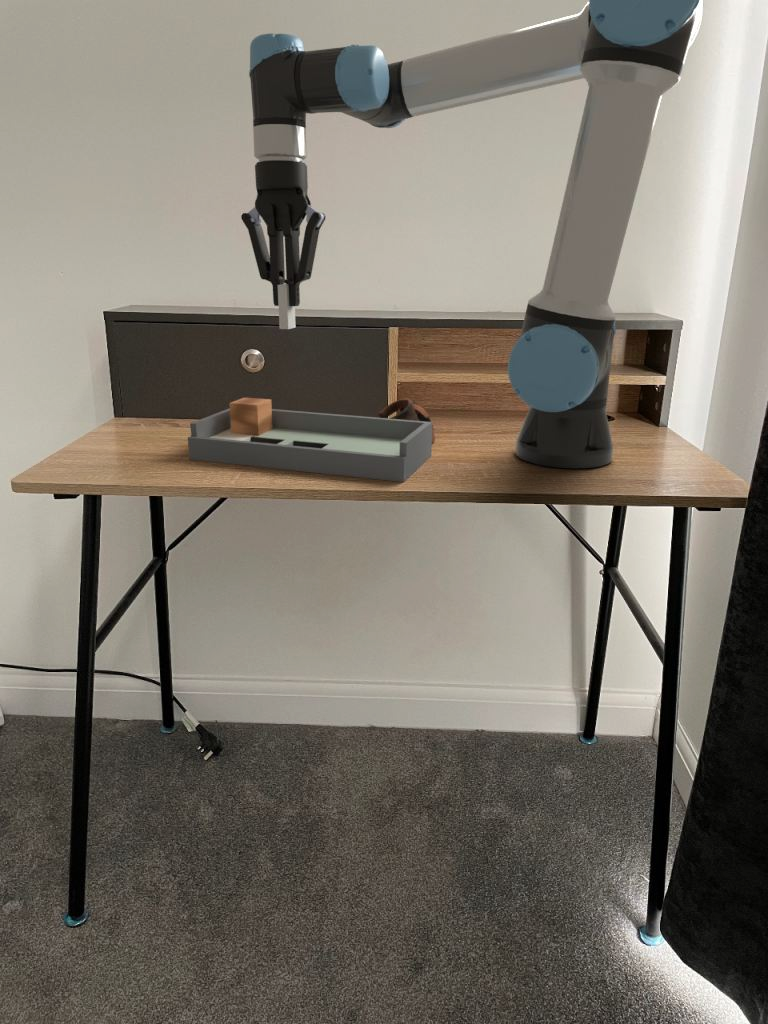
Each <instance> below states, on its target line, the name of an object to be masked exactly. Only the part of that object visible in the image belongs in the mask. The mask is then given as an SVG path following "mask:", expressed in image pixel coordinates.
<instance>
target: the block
mask: <svg viewBox="0 0 768 1024" xmlns="http://www.w3.org/2000/svg"><path fill="white" fill-rule="evenodd" d="M272 403H273V402H272V399H268V398H258V397H257V398H254V397H242V398H239V399H236V400H234V401H232V402H229V404H228V405H229V408H230V421H231V433H234V434H244V435H255V436H259V435H261V434H264V433H266V432H268V431H270V430H272V429H273V426H272V409H273V406H272Z"/></svg>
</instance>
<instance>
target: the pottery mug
mask: <svg viewBox="0 0 768 1024" xmlns="http://www.w3.org/2000/svg"><path fill="white" fill-rule="evenodd" d="M398 411H400V412H398ZM397 412H398V413H397ZM394 413H397V414H396V415H394V416H392V417H391V415H392V414H394ZM388 417H389V419H401V420H413V421H425V422H432V421H431V420H432V419H431V418H430V415H429V414H428V412H427V411H426V410H425V408H424V407H422V406H421V405H420V404H419V403H418V402H417V401H416V400H415V399H414V400H413V399H411V398H406V397H405V398H402V399H398V400H395V401H393V402H392V403H390V404H388V405H386V406H385V407H384V408H383V409H382V410H380V412H378V415H377V417H376V418H388ZM434 430H435V428H434V424H432V444H435V442H436V435H435V431H434Z"/></svg>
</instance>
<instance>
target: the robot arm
mask: <svg viewBox="0 0 768 1024" xmlns="http://www.w3.org/2000/svg"><path fill="white" fill-rule="evenodd" d="M703 1H704V0H589V1H588V2H587V3H586V4H585V6H584V7H583V9H582V10H581V11H580V12H579V13H577V14H574V15H569V16H565V17H561V18H558V19H553V20H551V21H546V22H543V23H540V24H535V25H532V26H528V27H524V28H521V29H516V30H513V31H508V32H504V33H501V34H498V35H493V36H489V37H486V38H482V39H478V40H475V41H471V42H468V43H464V44H460V45H455V46H453V47H448V48H444V49H441V50H436V51H432V52H429V53H426V54H421V55H418V56H413V57H411V58H406V59H404V60H400V61H396V62H391V63H388V62H387V59H386V57H385V56H384V52H383V51H382V49H381V48H379V47H378V46H376V45H359V44H351V45H347V46H340V47H333V48H332V47H331V48H324V49H316V50H315V49H314V50H305V49H304V43H303V41H302V40H301V39H300V38H299V37H298V36H295V35H293V34H287V33H271V32H269V33H263V34H259V35H257V36H256V37H254V38H253V39H252V40H251V42H250V47H249V71H248V72H249V73H248V75H249V76H248V77H249V78H250V91H251V104H252V105H251V107H252V124H253V125H252V126H253V127H252V129H253V154H254V155H253V156H254V157H255V159H257V160H258V161H257V162H256V163H255V165H254V170H255V171H254V175H255V177H254V178H255V188H256V191H257V192H256V193H257V194H256V199H255V202H254V207H253V208H252V209H251V210H249V211H248V212H243V213H242V214H241V215H240V218H241V220H242V222H243V225H245V227H246V229H247V232H248V235H249V239H250V243H251V246H252V250H253V254H254V258H255V263H256V266H257V270H258V273H259V276H260V279H261V280H264V281H268V282H269V283H270V284H271V285H272V300H273V305H274V307H276V306H277V307H278V322H279V324H278V325H279V330H291V329H294V328H296V327H297V326H296V307H299V306H300V303H301V300H300V299H301V297H300V294H301V293H300V285H301V284H302V283H303V282H305V281H308V280H310V279H311V277H312V273H313V267H314V262H315V258H316V257H315V256H316V251H317V246H318V240H319V234H320V230H321V228H322V227H323V225H324V223H325V221H326V214H325V213H324V212H320V211H318V210H317V209H316V208H314V207H312V203H311V200H310V197H309V195H308V188H309V187H308V186H309V185H308V165H306V163H305V162H303V161H304V160H306V158H307V156H308V155H307V154H308V153H307V131H306V130H307V125H306V124H307V123H306V122H307V121H306V120H307V117H306V116H307V114H321V113H322V114H323V113H324V114H325V113H341V114H345V115H347V116H350V117H352V118H355V119H358V120H360V121H362V122H365V123H367V124H369V125H371V126H373V127H375V128H379V129H393V128H395V127H398V126H400V125H401V124H402V123H403V122H404V121H405V120H407V119H411V118H415V117H419V116H423V115H427V114H432V113H436V112H441V111H444V110H445V111H446V110H449V109H454V108H459V107H463V106H467V105H471V104H477V103H479V102H485V101H488V100H493V99H498V98H502V97H507V96H512V95H515V94H520V93H524V92H529V91H533V90H538V89H542V88H546V87H552V86H556V85H561V84H565V83H569V82H573V81H577V80H583V79H585V81H586V82H587V86H588V89H587V90H588V91H587V95H586V98H585V104H584V108H583V112H582V116H581V120H580V121H581V122H580V126H579V130H578V134H577V138H576V142H575V147H574V150H573V156H572V160H571V164H570V169H569V174H568V177H567V178H568V179H567V182H566V185H565V186H566V187H565V191H564V195H563V200H562V204H561V207H560V211H559V216H558V222H557V225H556V231H555V234H554V237H553V238H554V239H553V243H552V247H551V252H550V256H549V261H548V264H547V269H546V273H545V276H544V277H545V279H544V281H543V282H544V283H543V286H542V289H541V290H540V291H539V292H538V293H537V294H536V295H534V296H532V297H531V298H530V299H528V302H527V306H526V310H525V314H524V318H523V324H522V328H521V332H520V335H519V336H520V337H518V338H517V340H516V342H515V343H514V344H513V346H512V349H511V350H510V353H509V358H508V362H507V374H508V379H509V383H510V385H511V387H512V389H513V391H514V393H515V394H516V395H517V396H518V398H519V399H520V400H521V401H522V402H524V404H526V405H528V406H529V408H528V411H527V413H526V416H525V418H524V420H523V424H522V426H521V428H520V430H519V432H518V435H517V438H516V442H515V455H516V456H517V457H518V458H519V459H521V460H523V461H525V462H528V463H531V464H535V465H539V466H544V467H550V468H551V467H552V468H559V469H561V468H562V469H589V468H597V467H603V466H606V465H608V464H610V463H611V462H613V455H614V454H613V453H614V443H613V438H612V434H611V433H612V432H611V429H610V426H609V425H610V424H609V420H608V416H607V402H608V393H609V384H610V375H611V366H612V365H611V364H612V358H613V357H612V356H613V348H614V347H613V346H614V338H615V335H616V333H617V327H616V315H615V313H614V311H613V310H612V308H611V306H610V304H609V297H610V294H611V289H612V286H613V283H614V278H615V275H616V271H617V266H618V263H619V260H620V255H621V251H622V248H623V245H624V239H625V236H626V234H627V229H628V225H629V221H630V219H631V218H630V217H631V215H632V214H631V213H632V209H633V206H634V203H635V200H636V195H637V191H638V187H639V184H640V180H641V176H642V174H643V173H642V171H643V168H644V164H645V161H646V157H647V153H648V149H649V146H650V143H651V138H652V134H653V130H654V126H655V123H656V120H657V116H658V111H659V108H660V103H661V100H662V97H663V96H664V95H665V93H667V92H668V91H669V90H670V89H673V87H675V86H676V85H677V84H679V82H680V80H681V77H682V74H683V73H682V72H683V69H684V65H685V62H686V58H687V54H688V51H689V48H690V47H691V46H692V44H693V43H694V41H695V39H696V36H697V35H698V33H699V30H700V26H701V24H702V19H703V14H704V13H703V11H704V10H703V8H704V2H703ZM304 219H305V221H306V226H305V230H304V235H303V236H304V237H303V241H302V248H301V252H300V235H301V225H302V223H303V221H304ZM262 220H263V222H264V223H265V224H266V233H267V236H268V244H267V241H266V237H265V234H264V233H265V232H264V229H263V227H262V224H261V223H262ZM267 245H269V246H267ZM268 247H269V248H268Z"/></svg>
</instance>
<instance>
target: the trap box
mask: <svg viewBox="0 0 768 1024" xmlns="http://www.w3.org/2000/svg"><path fill="white" fill-rule="evenodd" d="M432 425H433V421H431V422H425V421H413V420H401V419H390V418H388V417H387V418H377V417H376V416H374V417H373V416H363V415H348V414H338V413H337V414H336V413H334V414H333V413H323V412H313V411H312V412H310V411H303V410H302V411H301V410H298V411H297V410H289V409H288V410H287V409H276V408H272V426H273V429H272V430H270V431H268V432H266V433H264V434H261V435H259V436H255V435H244V434H234V433H231V421H230V407H229V408H227V409H224V410H221V411H218V412H217V413H213V414H212V415H211V414H210V415H209V416H206V417H203V418H201V419H198V420H195V421H193V422H190V436H188V437H187V445H188V457H189V460H193V461H203V462H212V463H213V462H214V463H221V464H222V463H223V464H232V465H239V466H249V467H251V466H252V467H258V468H259V467H260V468H270V469H277V470H278V469H279V470H285V471H288V470H289V471H295V472H306V473H314V474H315V473H316V474H322V475H323V474H325V475H334V476H342V477H343V476H344V477H353V478H363V479H372V480H381V481H390V482H399V483H405V482H406V481H407V479H409V478H410V477H411V476H412V475H413V474H414V473H415V472H416V471H417V470H418V469H419V468H420V467H422V465H424V463H426V461H428V460H429V458H431V457H432V446H433V445H432Z"/></svg>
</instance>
